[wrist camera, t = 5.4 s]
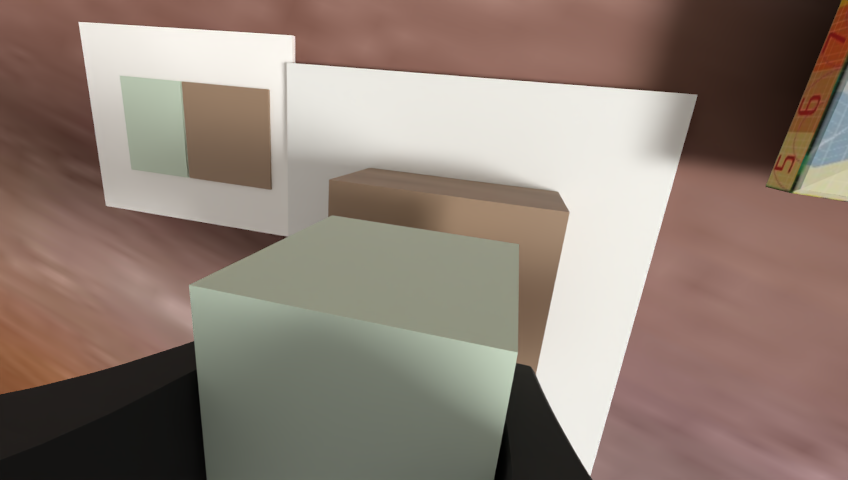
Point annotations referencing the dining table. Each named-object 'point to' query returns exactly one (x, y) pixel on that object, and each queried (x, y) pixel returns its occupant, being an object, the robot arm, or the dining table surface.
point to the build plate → (523, 167)
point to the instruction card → (192, 122)
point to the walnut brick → (470, 227)
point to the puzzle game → (820, 125)
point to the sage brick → (358, 355)
